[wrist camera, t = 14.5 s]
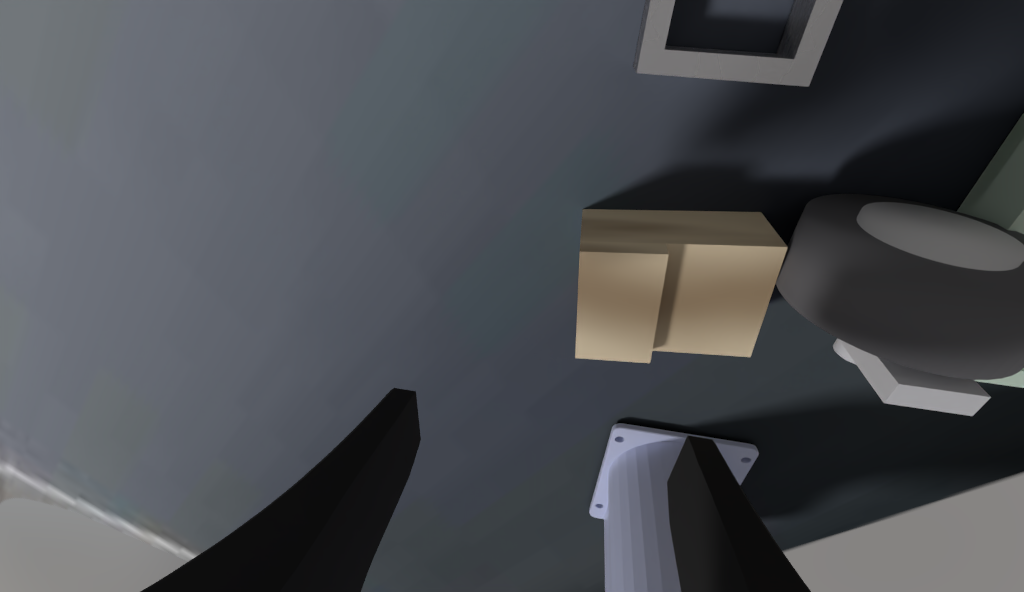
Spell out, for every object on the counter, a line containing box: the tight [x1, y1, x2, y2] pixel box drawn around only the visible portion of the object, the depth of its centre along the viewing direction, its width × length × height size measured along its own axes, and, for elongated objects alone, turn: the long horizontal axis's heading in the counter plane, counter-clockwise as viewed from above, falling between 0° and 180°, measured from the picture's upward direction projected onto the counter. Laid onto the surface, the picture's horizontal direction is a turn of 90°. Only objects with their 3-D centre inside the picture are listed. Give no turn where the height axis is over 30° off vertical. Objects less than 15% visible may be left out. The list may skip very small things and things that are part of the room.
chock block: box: [575, 209, 788, 363], centre depth 18 cm, size 5×7×4 cm
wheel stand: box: [776, 194, 1024, 416], centre depth 15 cm, size 5×7×7 cm
